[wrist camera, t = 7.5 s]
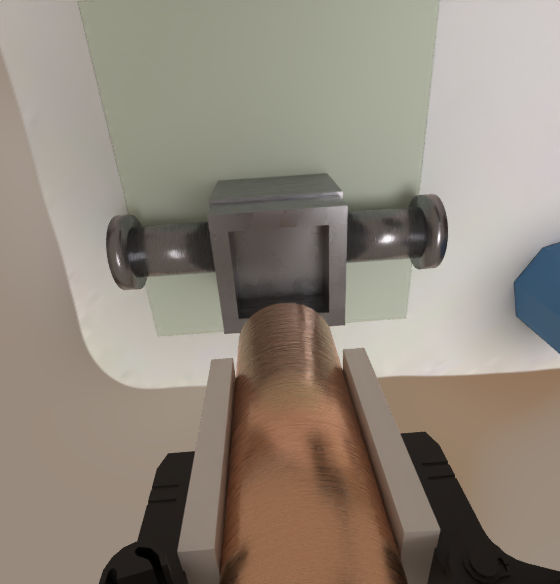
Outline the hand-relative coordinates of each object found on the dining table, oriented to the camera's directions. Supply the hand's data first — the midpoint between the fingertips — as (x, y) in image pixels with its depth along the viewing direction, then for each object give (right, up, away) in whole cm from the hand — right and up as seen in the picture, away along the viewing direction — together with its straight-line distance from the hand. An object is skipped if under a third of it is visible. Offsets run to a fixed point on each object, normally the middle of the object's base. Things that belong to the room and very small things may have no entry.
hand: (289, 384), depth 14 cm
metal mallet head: (-1, +7, +17) cm, 18 cm away
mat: (-1, +11, +15) cm, 19 cm away
